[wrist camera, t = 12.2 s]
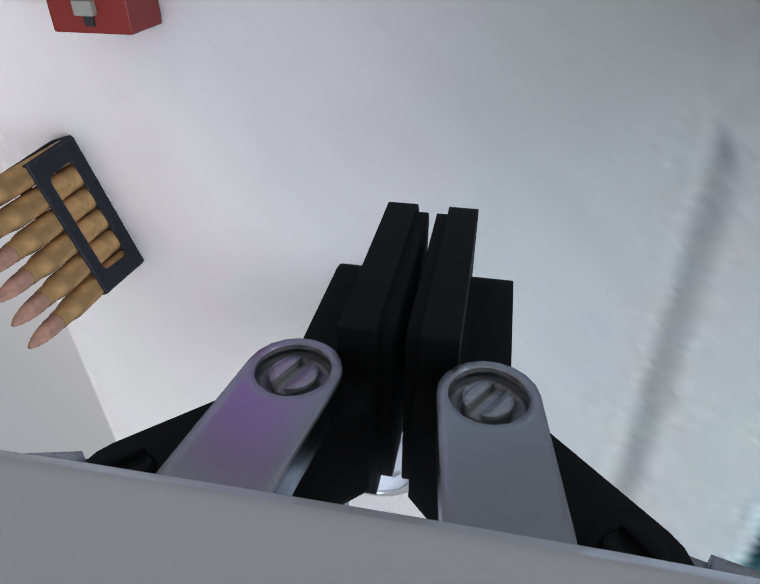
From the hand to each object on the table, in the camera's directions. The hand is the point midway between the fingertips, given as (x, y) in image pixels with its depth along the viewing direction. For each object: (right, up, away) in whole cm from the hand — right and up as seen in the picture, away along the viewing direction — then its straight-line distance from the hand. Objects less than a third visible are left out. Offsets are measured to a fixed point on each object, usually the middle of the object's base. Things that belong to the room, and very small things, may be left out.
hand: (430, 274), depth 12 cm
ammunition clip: (-22, +6, +35) cm, 42 cm away
